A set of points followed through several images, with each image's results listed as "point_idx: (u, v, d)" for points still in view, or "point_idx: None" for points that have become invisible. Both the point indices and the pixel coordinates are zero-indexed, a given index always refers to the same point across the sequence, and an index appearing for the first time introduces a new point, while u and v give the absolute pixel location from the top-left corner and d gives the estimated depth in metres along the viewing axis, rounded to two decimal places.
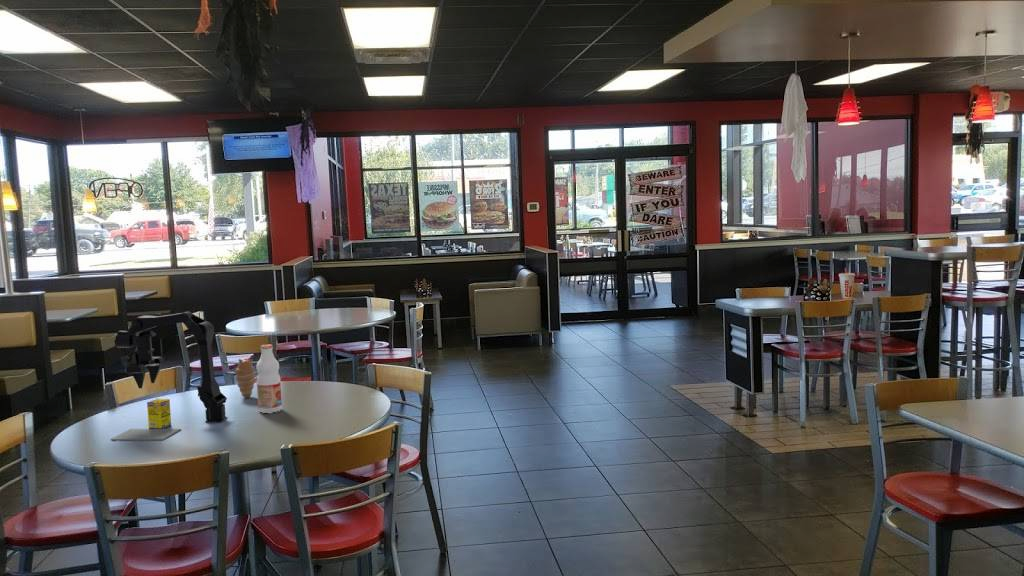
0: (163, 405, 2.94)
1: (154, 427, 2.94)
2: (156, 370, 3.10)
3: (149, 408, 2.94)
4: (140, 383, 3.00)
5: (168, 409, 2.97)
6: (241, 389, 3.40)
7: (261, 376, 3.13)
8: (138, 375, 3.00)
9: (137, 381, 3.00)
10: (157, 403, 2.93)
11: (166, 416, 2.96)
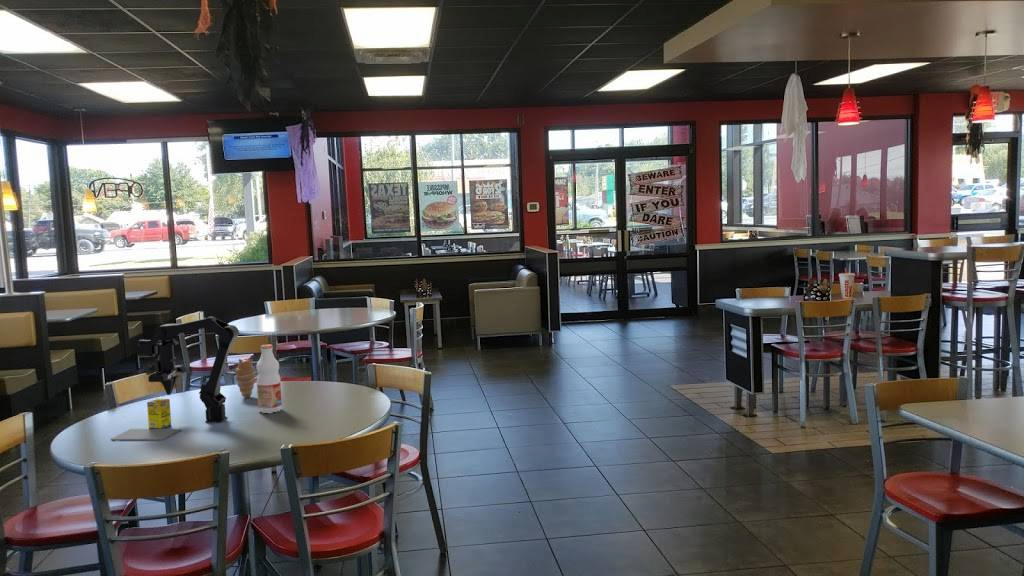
0: (163, 405, 2.94)
1: (154, 427, 2.94)
2: None
3: (149, 408, 2.94)
4: (168, 389, 3.02)
5: (168, 409, 2.97)
6: (241, 389, 3.40)
7: (261, 376, 3.13)
8: (166, 382, 3.02)
9: (165, 387, 3.02)
10: (157, 403, 2.93)
11: (166, 416, 2.96)
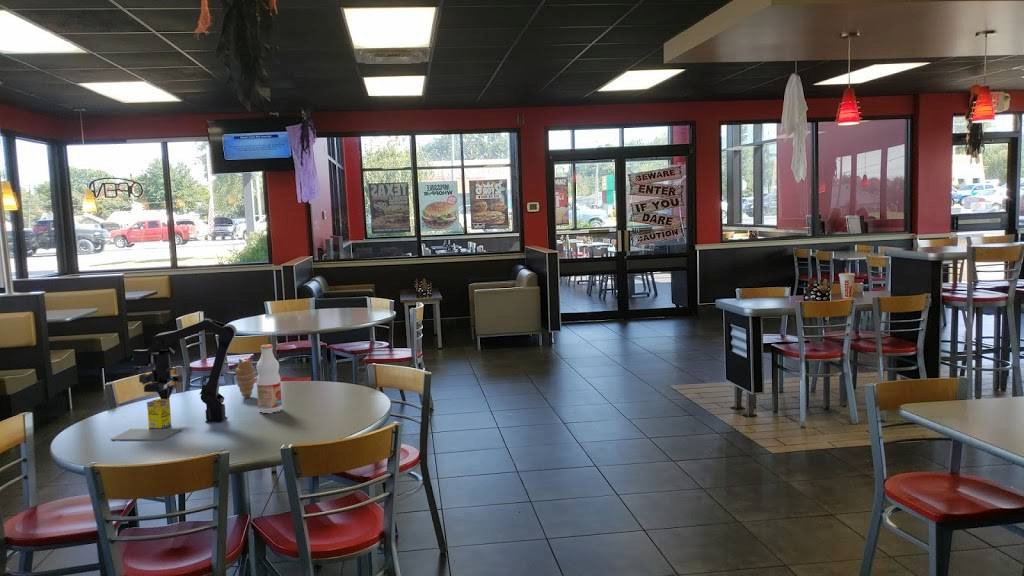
0: (163, 405, 2.94)
1: (154, 427, 2.94)
2: (169, 391, 3.01)
3: (149, 408, 2.94)
4: None
5: (168, 409, 2.97)
6: (241, 389, 3.40)
7: (261, 376, 3.13)
8: (163, 391, 2.99)
9: (162, 397, 2.99)
10: (157, 403, 2.93)
11: (166, 416, 2.96)
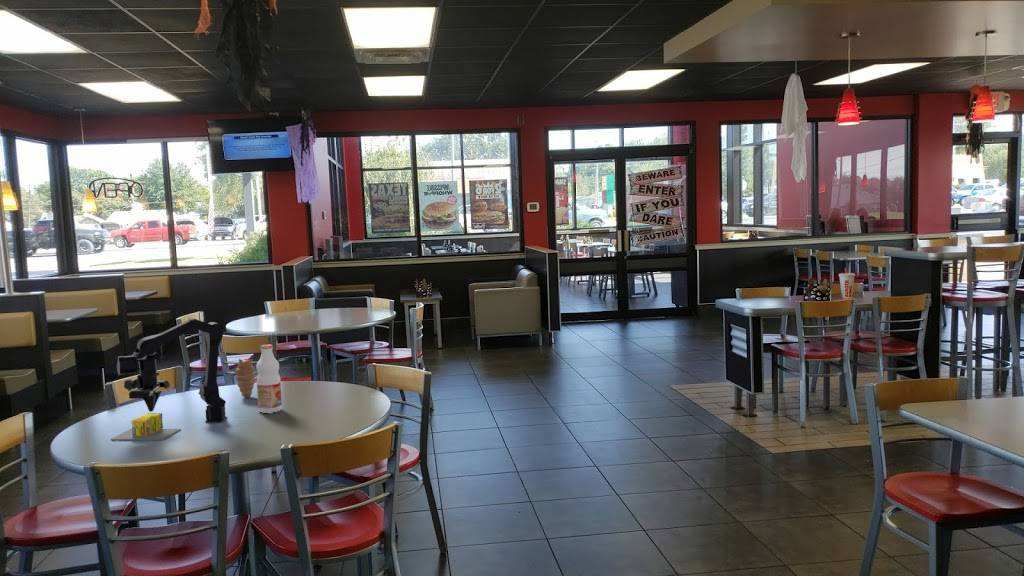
0: (149, 430, 2.85)
1: None
2: None
3: None
4: (151, 406, 2.89)
5: (152, 421, 2.87)
6: (241, 389, 3.40)
7: (261, 376, 3.13)
8: (149, 398, 2.89)
9: (147, 404, 2.89)
10: (144, 435, 2.84)
11: (156, 423, 2.90)
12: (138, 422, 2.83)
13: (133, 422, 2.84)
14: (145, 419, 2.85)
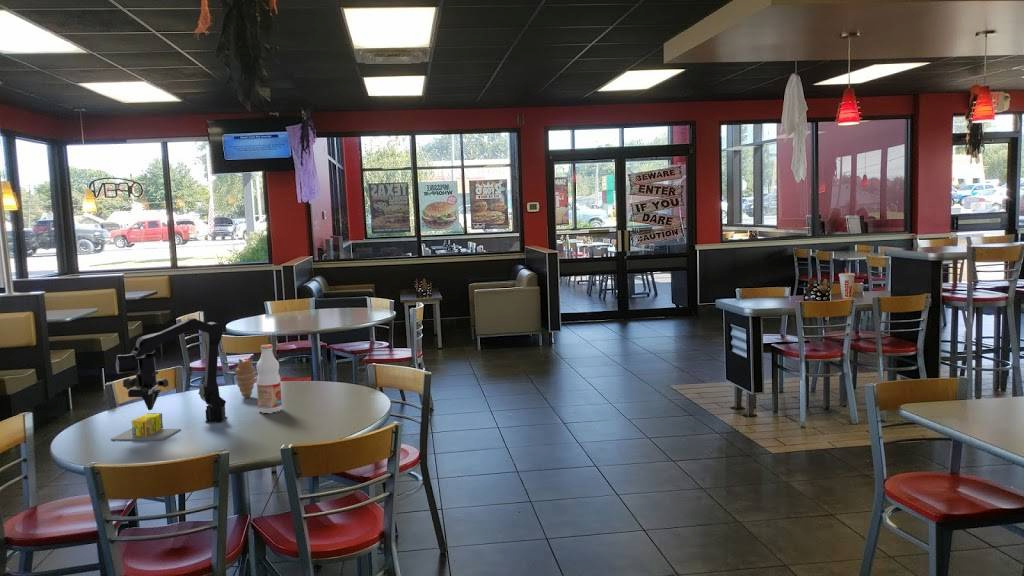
0: (149, 430, 2.85)
1: None
2: None
3: None
4: (150, 405, 2.89)
5: (152, 421, 2.87)
6: (241, 389, 3.40)
7: (261, 376, 3.13)
8: (148, 396, 2.88)
9: (146, 403, 2.88)
10: (144, 435, 2.84)
11: (156, 423, 2.90)
12: (138, 422, 2.83)
13: (133, 422, 2.84)
14: (145, 419, 2.85)
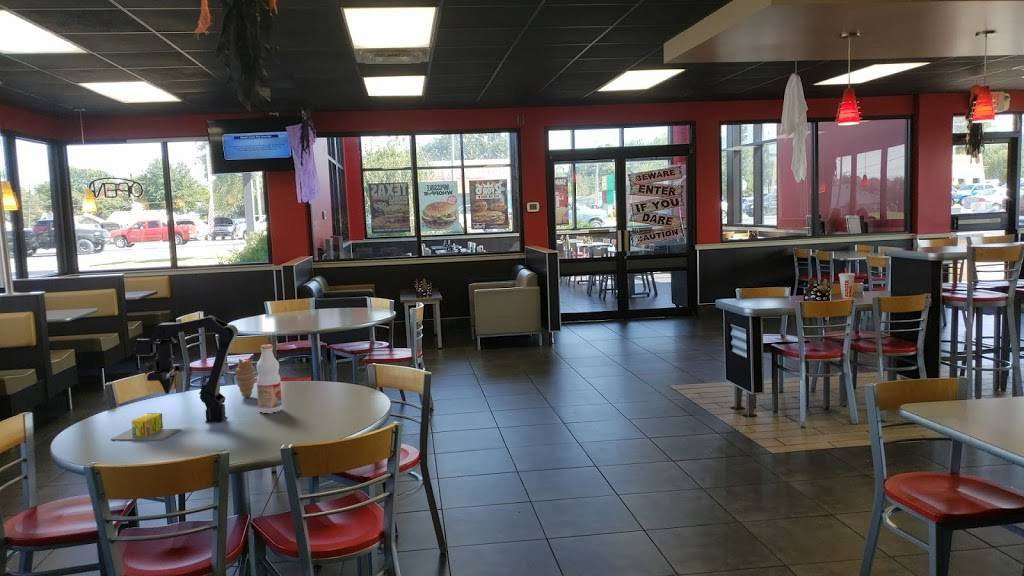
0: (149, 430, 2.85)
1: None
2: None
3: None
4: (167, 388, 3.01)
5: (152, 421, 2.87)
6: (241, 389, 3.40)
7: (261, 376, 3.13)
8: (165, 380, 3.01)
9: (164, 386, 3.01)
10: (144, 435, 2.84)
11: (156, 423, 2.90)
12: (138, 422, 2.83)
13: (133, 422, 2.84)
14: (145, 419, 2.85)
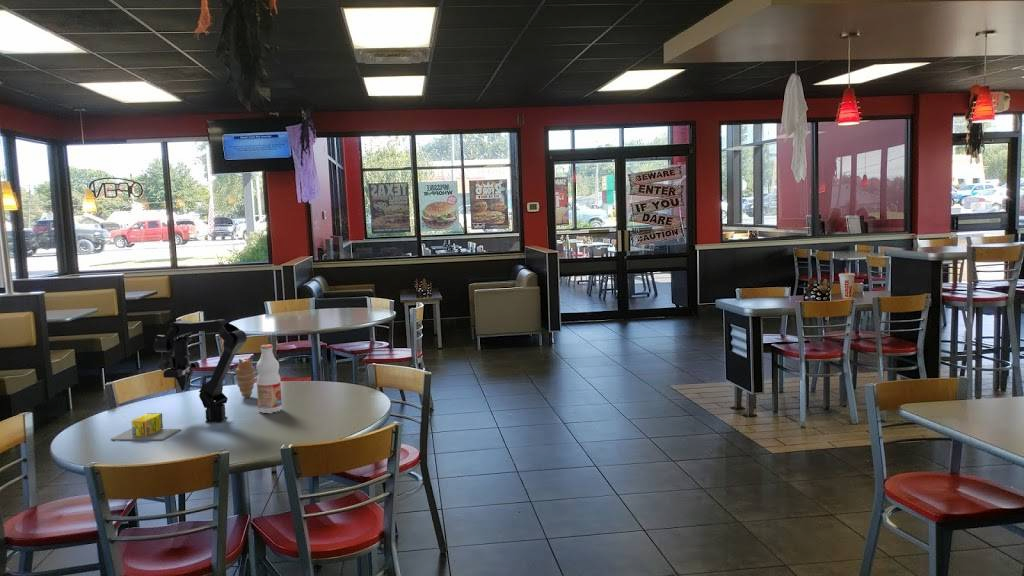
0: (149, 430, 2.85)
1: None
2: (187, 377, 3.07)
3: None
4: (183, 385, 3.06)
5: (152, 421, 2.87)
6: (241, 389, 3.40)
7: (261, 376, 3.13)
8: (181, 377, 3.05)
9: (180, 383, 3.06)
10: (144, 435, 2.84)
11: (156, 423, 2.90)
12: (138, 422, 2.83)
13: (133, 422, 2.84)
14: (145, 419, 2.85)
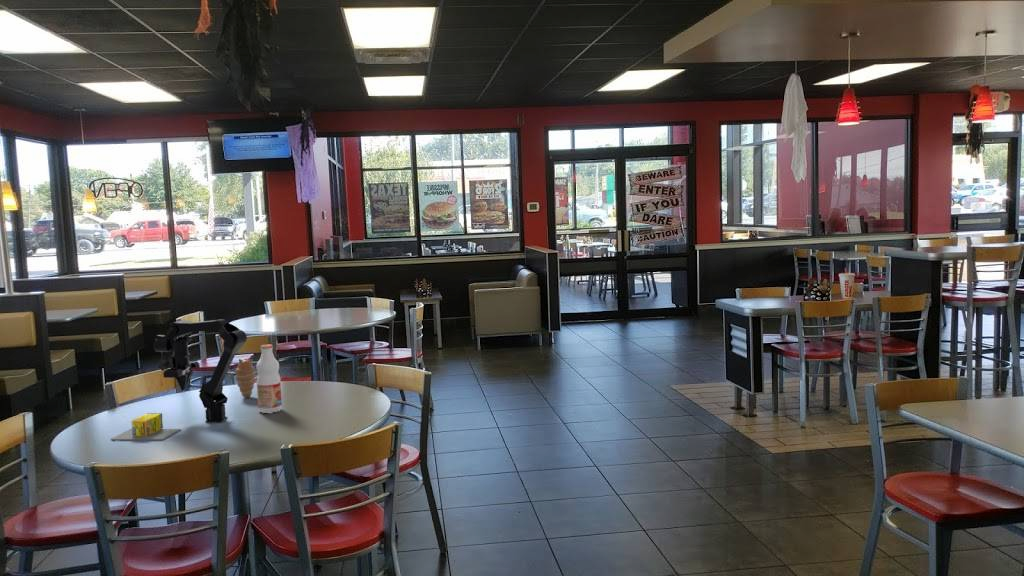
0: (149, 430, 2.85)
1: None
2: (187, 377, 3.07)
3: None
4: (183, 385, 3.06)
5: (152, 421, 2.87)
6: (241, 389, 3.40)
7: (261, 376, 3.13)
8: (181, 377, 3.05)
9: (180, 383, 3.06)
10: (144, 435, 2.84)
11: (156, 423, 2.90)
12: (138, 422, 2.83)
13: (133, 422, 2.84)
14: (145, 419, 2.85)
